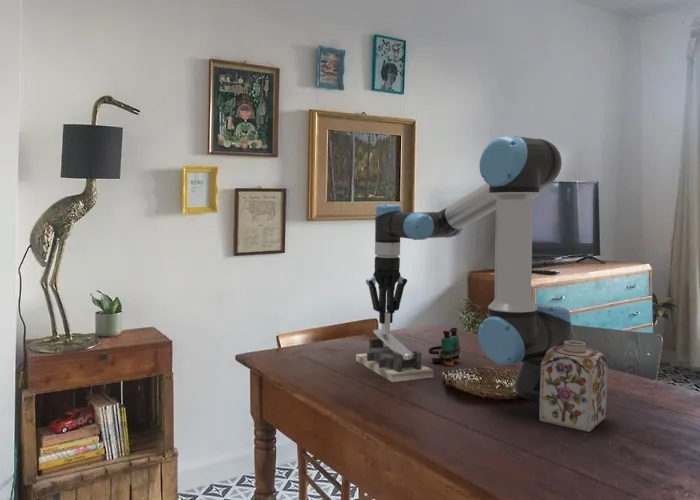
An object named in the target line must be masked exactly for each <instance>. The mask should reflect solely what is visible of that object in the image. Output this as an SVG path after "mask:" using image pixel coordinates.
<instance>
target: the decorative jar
mask: <svg viewBox="0 0 700 500" xmlns="http://www.w3.org/2000/svg"><path fill="white" fill-rule="evenodd" d="M608 364H609V362H608V361H607V359H606V357H605V355H604V354H603V353H602V352H600V351H598V350H596V349H593V348H588V347H587V345H586V343H585V342H583V341H580V340H570V341H564V346H555V347H552V348H550V349H549V350H547V352H546V354H545V357H544V358H543V361H542V363H541V378H540V402H539V410H538V411H539V421H540V422H543V423H547V424H551V425H554V426H555V425H556V426H559V427H563V428H569V429H570V428H571V429H575V430H579V431H583V432H588V433H590V432H591V431H593V429H595V428H596V426H599V424H600V423H601V422H602V421H604V420H605V419H606V415H607V399H608V398H607V395H608V392H607V391H608Z"/></svg>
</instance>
